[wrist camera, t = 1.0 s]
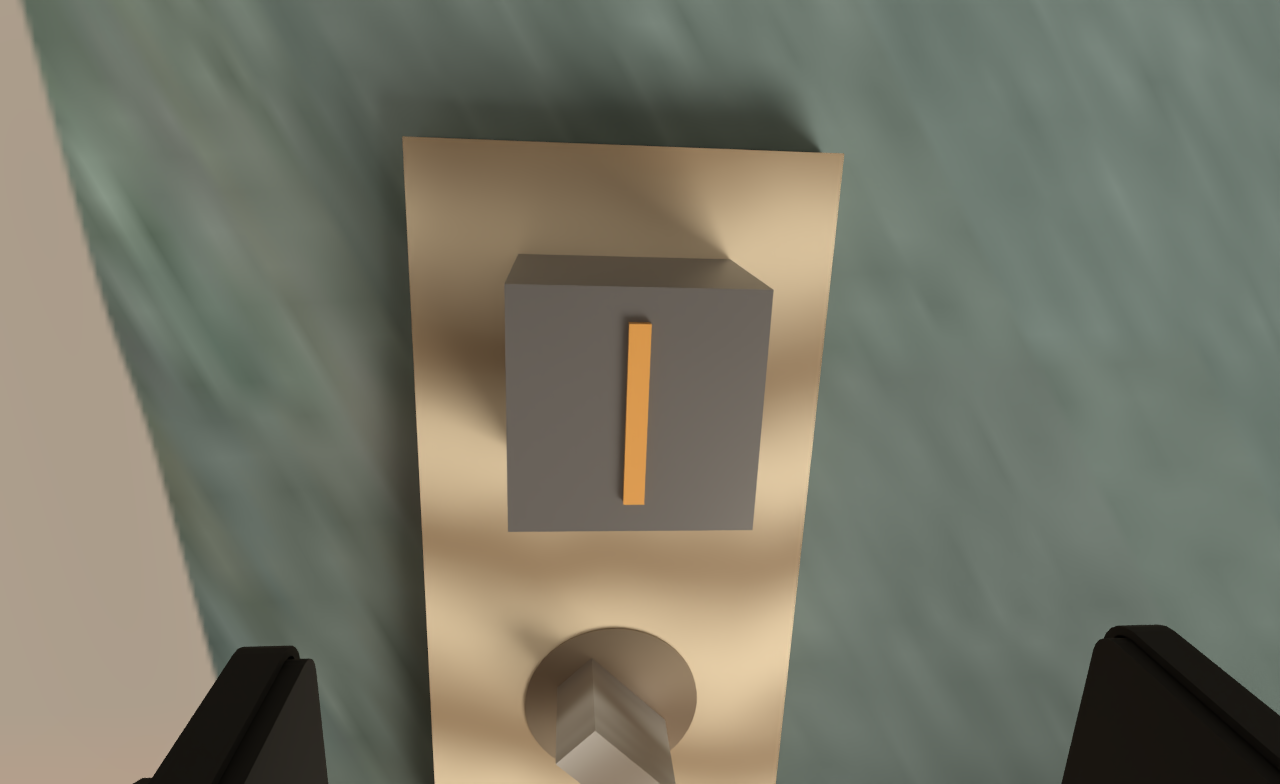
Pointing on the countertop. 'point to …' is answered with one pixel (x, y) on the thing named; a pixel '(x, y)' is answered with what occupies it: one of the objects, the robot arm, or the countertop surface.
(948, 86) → the countertop surface
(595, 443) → the grey and orange block
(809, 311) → the light wood flat block
